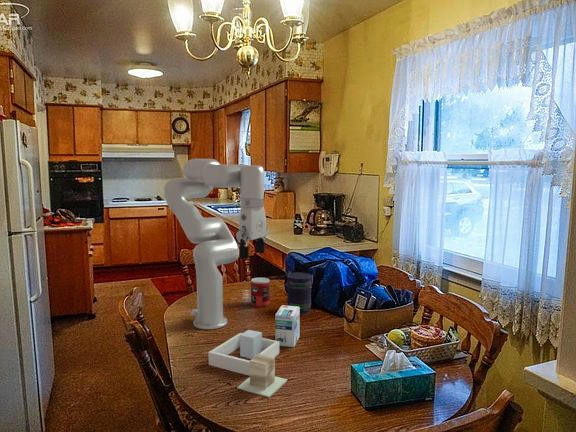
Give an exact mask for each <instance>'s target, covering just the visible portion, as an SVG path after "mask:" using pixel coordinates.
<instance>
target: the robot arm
mask: <svg viewBox="0 0 576 432" xmlns="http://www.w3.org/2000/svg"><path fill="white" fill-rule="evenodd" d="M182 171H183V174H184V176H185V177H175V178H171V179H169V180H168V181H167V182H165V184H164V188H163V189H164V190H163V191H164V199H165V202H166V204H167V206H168V208H169V209H170V211H171V212H172V213H173V214H174V215H175V217H176V218H177V220H178V222H179V224H180V226H181V228H182V229H183V232H184V233H185V235H186V238H187V239H188V240H189V242H190V243H191V244H194V245H195V244H196V245H195V247H194V248H193V251H192V254H193V255H192V257H193V262H194V265H195V274H196V275H195V276H196V306H197V308H193V309H191V312H190V313H189V314H190V317H191V316H192V317H195V319H194V320H193V322H192V323H193V327H195V328H196V329H198V330H199V329H200V330H216V329H220V328H223V327H225V326H226V325H227V324H228V319H227V318H226V316H224V295H223V294H224V291H223V289H224V288H223V276H222V274H221V272H220V270H219V269H218V266H221V265H227V264H231V263H233V262H236V261H237V260H238V259H239V258H240V259H245V260H248V259H249V258H250V250H249V249H250V246H248V245H249V243H250V241H255V253H256V254H265V252H266V251H265V244H266V237H267V231H268V226H267V217H266V216H267V215H266V211H265V206H264V203H265V201H264V200H265V199H264V196H265V195H264V192H265V190H264V189H265V187H264V181H265V180H264V179H265V178H264V175H265V174H264V171H265V170H264V168H263V166H262V165H253V164H252V165H251V164H250V165H249V164H233V163H231V164H221V163H220V161H218V160H217V159H214V158H191V159H189V160H187V161H186V162H185V164H184V165H183V167H182ZM214 188H221V189H222V188H223V189H225V188H239V189H240V191H239V193H240V194H239V197H240V204H239V205H240V207H239V208H240V209H239V210H240V211H239V213H240V214H239V221H238V222H239V224H238V225H239V226H238V231H237V232H236V233H235V238H236V239H235V238H234V236H233V234H232V232H231V231H230V229H229V227H228V225H227V224H226V222H225V221H224V220H223V219H221V218H220V217H217V216H213V217H212V216H211V217H205V216H203V215H202V214H201V213H200V211H199V209H198V207H197V206H195V205H194V204H193V203H192V202H190V201H188V200H191V199H192V200H193V199H203V198H206V197H207V196H208V195H209V194H210V193H211V192H212V190H213V189H214ZM236 240H237V241H236Z"/></svg>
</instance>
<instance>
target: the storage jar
mask: <svg viewBox="0 0 576 432" xmlns="http://www.w3.org/2000/svg"><path fill="white" fill-rule="evenodd" d="M286 287H287V297H286V298H287V299H286V300H287V301H286V306H297V307H300V316H303V315H308V314H309V313H311V311H312V310H311V309H312V308H311V307H312V297H311V289H312V274H310V273H307V272H298V271H297V272H290V273H288V274H287V282H286Z"/></svg>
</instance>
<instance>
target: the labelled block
mask: <svg viewBox="0 0 576 432" xmlns="http://www.w3.org/2000/svg"><path fill="white" fill-rule="evenodd" d="M249 361H250V376H249V377H250V385H251V386H255V387H258V388H262V389H267V388H268V387H269V386H270V385H271V384H272V383H274V382H275V376H276V357H271V356H267V355H263V354H258V355H257V356H256V357H254V358H253V359H250V360H249Z"/></svg>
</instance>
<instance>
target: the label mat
mask: <svg viewBox="0 0 576 432" xmlns="http://www.w3.org/2000/svg"><path fill="white" fill-rule="evenodd" d="M287 381H288V379H287V378H283V377H280V376H276V375H275V382H274V383H272V384H271V385H270V386H269V387H268V388H267V389H262V388H258V387H255V386H251V385H250V376H249V377H248V378H246V379H245V380H244V381H243V382H241V384H239V385H238V386H237V387H236V388H237V389H239V390H242V391H245V392H249V393H252V394H256V395H259V396H262V397H266V398H271V397H272V396H273V395H274V394H275V393H276V392H277V391H278V390H279V389H280V388H281V387H283V385H285V383H287Z"/></svg>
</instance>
